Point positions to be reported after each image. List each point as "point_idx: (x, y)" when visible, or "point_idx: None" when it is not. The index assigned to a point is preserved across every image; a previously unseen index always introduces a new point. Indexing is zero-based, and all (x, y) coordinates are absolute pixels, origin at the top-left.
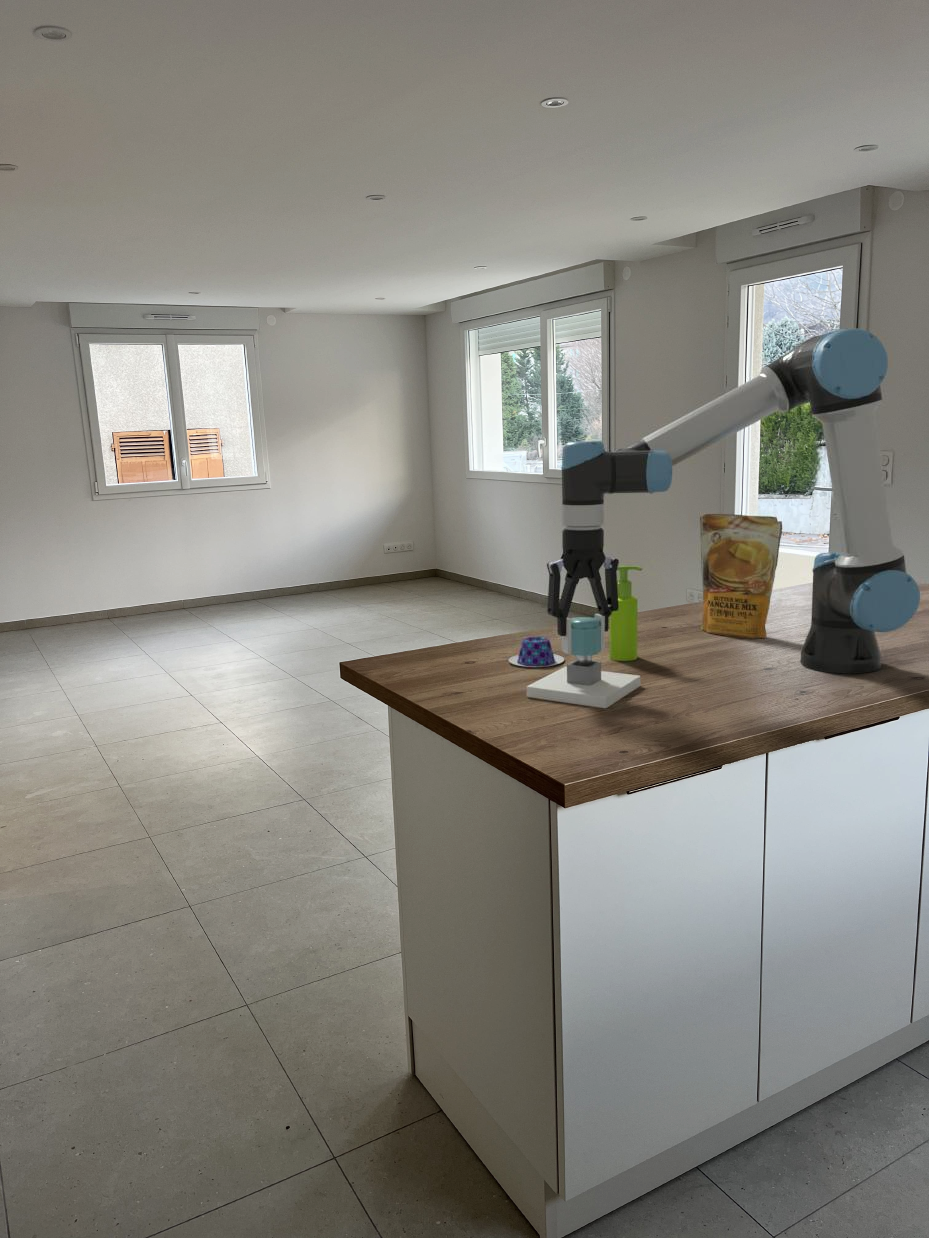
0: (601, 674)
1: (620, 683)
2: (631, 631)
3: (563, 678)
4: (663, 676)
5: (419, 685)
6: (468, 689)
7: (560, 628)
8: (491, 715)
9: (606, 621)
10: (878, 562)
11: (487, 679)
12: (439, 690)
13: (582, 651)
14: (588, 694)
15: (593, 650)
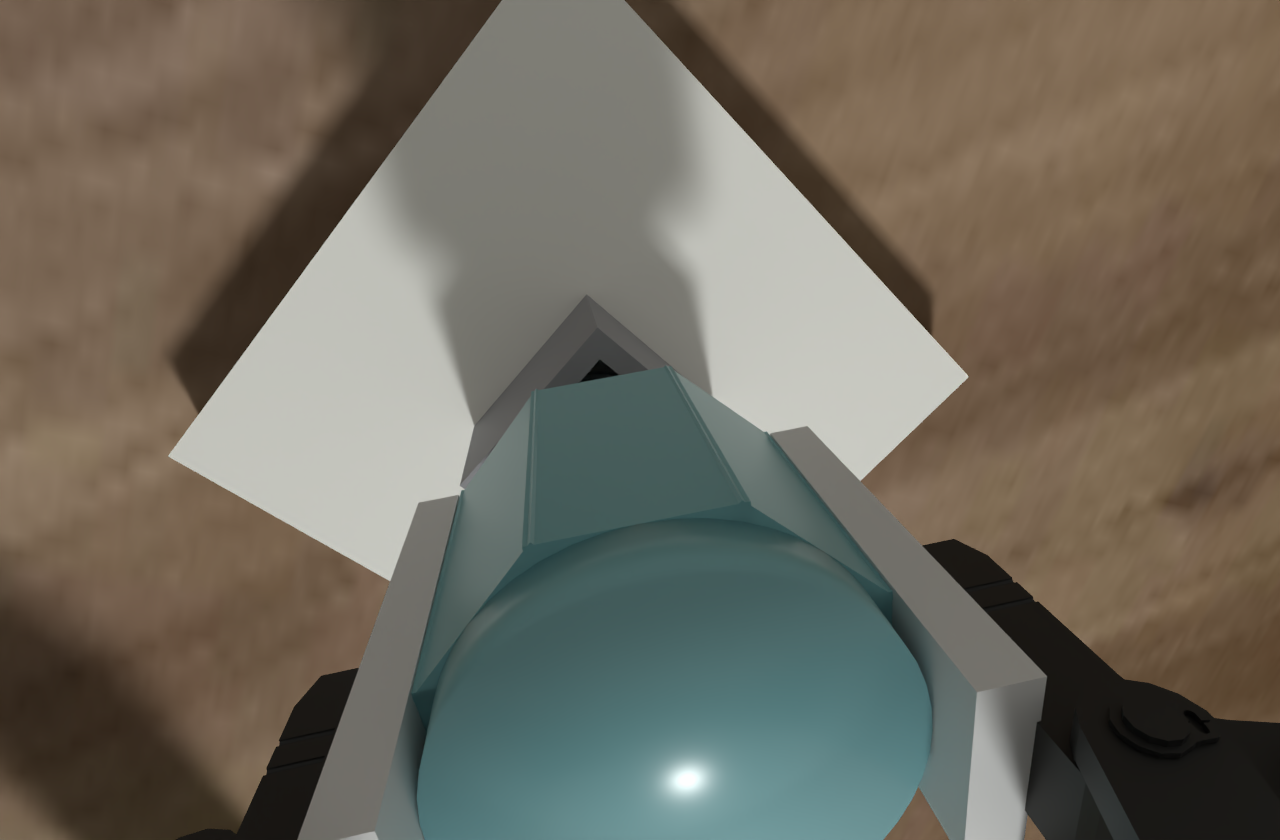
0: None
1: (354, 300)
2: None
3: None
4: (14, 592)
5: (1262, 629)
6: (1121, 540)
7: (1031, 602)
8: (1254, 44)
9: (289, 795)
10: None
11: None
12: (1234, 548)
13: (688, 391)
14: (664, 65)
15: (566, 402)
